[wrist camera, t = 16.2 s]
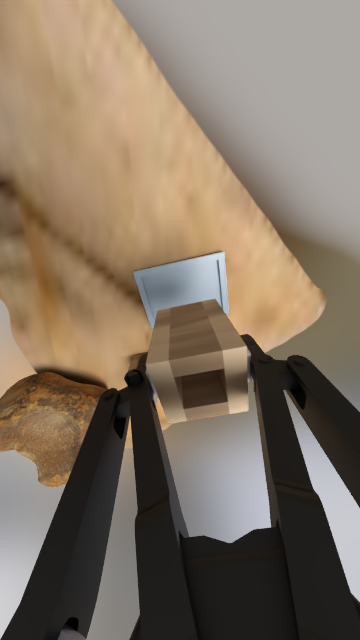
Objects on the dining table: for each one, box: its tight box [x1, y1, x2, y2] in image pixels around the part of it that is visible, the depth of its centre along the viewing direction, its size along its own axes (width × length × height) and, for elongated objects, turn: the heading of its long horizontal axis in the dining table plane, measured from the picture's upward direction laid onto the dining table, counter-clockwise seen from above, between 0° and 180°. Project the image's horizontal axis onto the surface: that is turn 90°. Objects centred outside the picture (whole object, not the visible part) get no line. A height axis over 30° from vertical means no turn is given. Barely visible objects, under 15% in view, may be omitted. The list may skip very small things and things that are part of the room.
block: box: [146, 299, 248, 424], centre depth 15 cm, size 6×6×8 cm
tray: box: [133, 251, 229, 329], centre depth 30 cm, size 11×15×1 cm
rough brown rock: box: [0, 372, 106, 487], centre depth 34 cm, size 23×17×15 cm
